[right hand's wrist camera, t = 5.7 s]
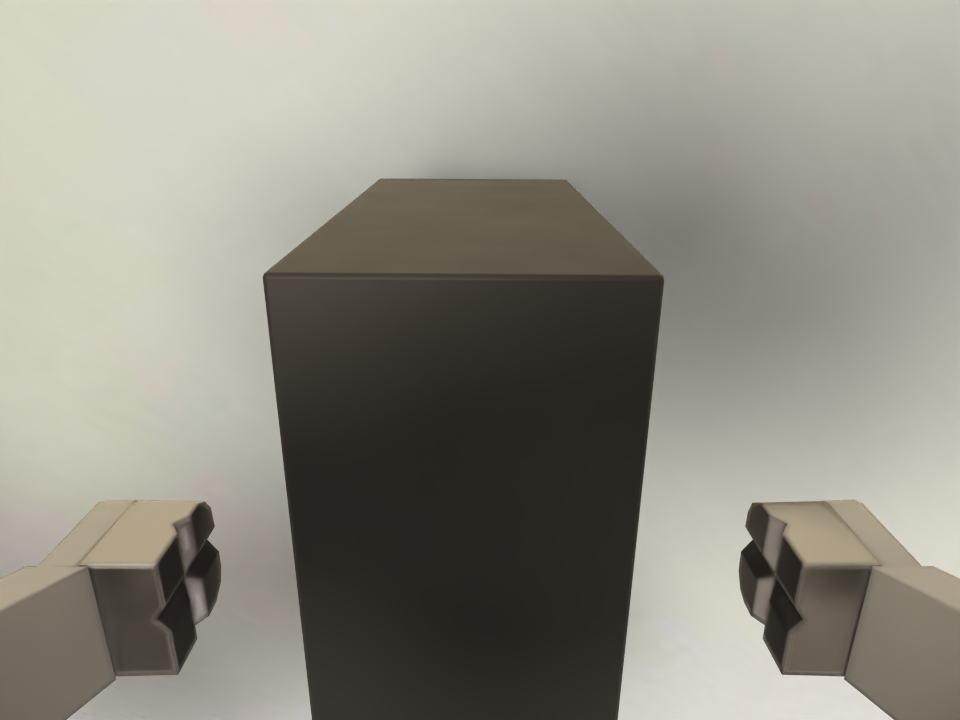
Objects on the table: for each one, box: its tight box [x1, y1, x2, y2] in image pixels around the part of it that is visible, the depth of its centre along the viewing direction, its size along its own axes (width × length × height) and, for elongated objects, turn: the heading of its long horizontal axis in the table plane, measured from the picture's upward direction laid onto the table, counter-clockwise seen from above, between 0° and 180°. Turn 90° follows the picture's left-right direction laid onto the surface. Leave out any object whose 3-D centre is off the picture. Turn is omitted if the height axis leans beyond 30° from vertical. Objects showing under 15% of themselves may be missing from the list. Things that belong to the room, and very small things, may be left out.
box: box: [263, 179, 664, 720], centre depth 20 cm, size 24×6×12 cm, turn 0°
